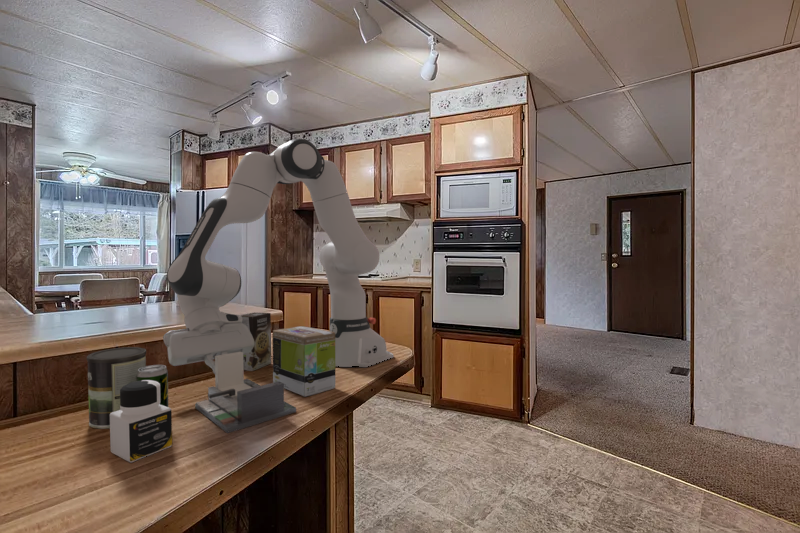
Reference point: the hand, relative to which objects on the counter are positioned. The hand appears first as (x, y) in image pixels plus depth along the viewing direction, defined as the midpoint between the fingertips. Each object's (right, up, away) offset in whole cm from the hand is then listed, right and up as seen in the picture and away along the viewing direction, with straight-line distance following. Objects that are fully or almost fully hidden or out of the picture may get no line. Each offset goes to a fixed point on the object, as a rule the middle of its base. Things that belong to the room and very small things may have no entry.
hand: (221, 371), depth 101 cm
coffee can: (-15, -7, -14) cm, 22 cm away
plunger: (+5, -5, -8) cm, 10 cm away
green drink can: (-6, -7, -18) cm, 20 cm away
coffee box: (-1, -5, +25) cm, 26 cm away
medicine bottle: (-2, -7, -28) cm, 29 cm away
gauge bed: (+9, -6, -9) cm, 15 cm away
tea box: (+19, -6, +7) cm, 21 cm away
